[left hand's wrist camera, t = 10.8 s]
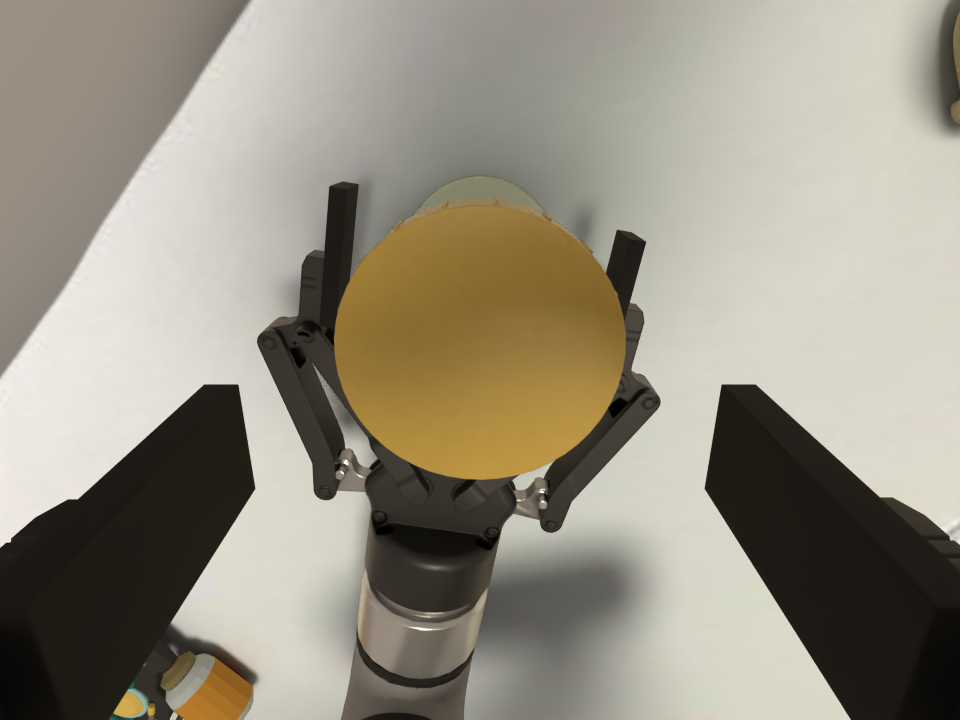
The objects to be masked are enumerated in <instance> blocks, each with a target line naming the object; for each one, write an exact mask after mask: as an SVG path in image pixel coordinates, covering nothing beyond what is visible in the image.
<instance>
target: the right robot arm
mask: <svg viewBox="0 0 960 720" xmlns="http://www.w3.org/2000/svg"><path fill="white" fill-rule="evenodd" d="M358 185H359V184H354V183H348V182H340V183H337V184H334V185H332V186H329V199H328V212H327V226H326V239H325V252H324V251H318V250H314V251H313V252H311V253H310V254H308V255H307V256H306V258H305V260H304V262H303V264H302V272H301V289H300V305H299V315H298V316H295V317H290V318H288V317H279V318H277V319H276V320H275V321H274V322H273V323H272V324H270V325H269V326H268V327H267V328H266V329H265V330H264V331H263V332H262V333H261V334H260V335H259V336H258V339H257V344H258V347H259V349H260V351H261V353H262V356H263V358H264V360H265V362H266V364H267V366H268V369H269V371H270V373H271V375H272V377H273V379H274V382H275V384H276V386H277V388H278V390H279V392H280V394H281V397H282V399H283V401H284V403H285V405H286V407H287V410H288V412H289V414H290V416H291V418H292V420H293V423H294V425H295V427H296V429H297V431H298V433H299V435H300V438H301V440H302V442H303V444H304V446H305V448H306V451H307V453H308V455H309V457H310V459H311V461H312V465H313V484H314V493H315V495H316V496H317V497H318V498H320V499H322V500H330V499H332V498H334V496H335V495H336V492H337V491H358V492H366V495H367V496H368V498H369V501H370V504H371V515H370V523H369V531H368V539H367V547H366V555H365V570H364V573H363V578H362V587H361V595H360V604H359V613H358V624H357V637H356V644H355V650H354V656H353V662H352V669H351V675H350V681H349V687H348V691H347V696H346V700H345V705H344V709H343V713H342V717H341V720H464V702H465V694H466V687H467V682H468V676H469V671H470V665H471V660H472V655H473V652H474V648H475V644H476V641H477V638H478V633H479V629H480V625H481V620H482V616H483V611H484V607H485V603H486V598H487V591H488V585H489V583H490V579H491V575H492V570H493V566H494V561H495V557H496V552H497V548H498V543H499V539H500V535H501V530H502V527H503V525H504V523H505V522H506V520H507V519H508V518H509V517H510V516H511V515H512V514H517V515H521V516H525V517H529V518H533V519H538V520H540V525H541V528H542V529H543V530H544V531H546V532H549V533H553V532H556V531H558V530H559V529H560V528H561V526H562V524H563V522H564V519H565V517H566V514H567V512H568V509H569V507H570V504H571V502H572V501H573V500H574V499H575V498H576V496H577V495H578V494H579V493H580V492H581V491H582V490H583V489H584V488H585V487H586V486H587V485H588V484H589V482H590V481H591V480H592V479H593V478H594V477H595V476H596V475H597V474H598V473H599V472H600V471H601V470H602V468H603V467H604V466H605V465H606V464H607V463H608V462H609V461H610V460H611V459H612V458H613V457H614V456H615V454H616V453H617V452H618V451H619V450H620V449H621V448H622V447H623V446H624V445H625V444H626V443H627V442H628V440H629V439H630V438H631V437H632V436H633V435H634V434H635V433H636V432H637V431H638V430H639V429H640V428H641V426H642V425H643V424H644V423H645V422H646V421H647V420H648V419H649V418H650V417H651V416H652V415H653V414H654V412H655V411H656V410H657V409H658V408H659V406H660V402H661V401H660V398H659V396H658V395H657V393H656V392H655V390H654V389H653V387H652V386H651V384H650V383H649V381H648V380H647V378H646V377H645V376H644V375H641V374H636V373H634V372H633V371H631V368H632V364H633V360H634V357H635V353H636V350H637V346H638V343H639V342H638V341H639V339H640V336H641V332H642V329H643V325H644V316H643V311H642V310H641V309H640V308H639V307H638V306H637V305H636V304H632V303H630V299H631V296H632V292H633V288H634V285H635V281H636V277H637V274H638V270H639V266H640V263H641V259H642V255H643V252H644V248H645V244H646V241H644V240H643V239H641V238H640V237H638V236H637V235H635V234H633V233H632V232H627V231H621V230H617V232H616V236H615V240H614V244H613V248H612V252H611V255H610V259H609V263H608V267H607V271H606V275H607V276H608V278H609V280H610V281H611V283H612V286H613V288H614V290H615V291H616V292H617V294H618V296H617V297H618V300H619V303H620V307H621V310H622V314H623V318H624V326H625V334H626V349H625V359H624V366H623V372H622V375H621V378H620V382H619V385H618V388H617V390H616V393H615V395H614V397H613V399H612V402H611V404H610V405H609V407H608V409H607V410H606V412H605V413H604V415H603V417H602V418H601V420H600V421H599V422H598V423H597V425H596V426H595V427H594V428H593V430H592V431H591V432H590V433H589V434H588V435H587V436H586V437H585V438H584V439H583V440H582V441H581V442H580V443H579V444H578V445H576V446H575V447H574V448H572V449H571V450H570V451H568V452H567V453H566V454H564V455H563V456H561V457H559V458H557V459H556V460H555V461H554V462H553V464H552V465H551V466H550V468H549V469H548V471H547V472H546V474H545V477H544V479H543V478H541V477H538V478H536V479H535V480H534V482H533V483H532V484H531V485H530V486H529V487H528V488H527V489H525V490H521V491H520V490H516V488H515V485H514V483H513V481H512V480H513V479H514V478H516V477H517V476H518V475H516V476H510V477H505V478H499V479H485V480H477V479H462V478H455V477H449V476H445V475H441V474H437V473H434V472H430V471H428V470H425V469H423V468H420V467H418V466H415V465H413V464H412V463H410V462H408V461H406V460H404V459H402V458H401V457H399V456H397V455H396V454H395V453H393V452H392V451H390V450H389V449H388V448H386V447H385V446H384V445H383V444H382V443H380V442H379V441H378V440H377V439H376V438H375V437H374V436H373V435H372V434H371V433H370V432H369V431H368V429H367V428H366V427H365V426H364V425H363V424H362V422H361V421H360V420H359V418H358V417H357V415H356V413H355V412H354V410H353V409H352V407H351V405H350V403H349V401H348V399H347V397H346V395H345V393H344V391H343V388H342V385H341V382H340V379H339V376H338V371H337V366H336V360H335V347H334V335H335V325H336V318H337V314H338V308H339V306H340V302H341V300H342V297H343V295H344V292H345V290H346V288H347V285H348V283H349V282H350V272H351V261H352V250H353V240H354V229H355V218H356V207H357V196H358ZM312 363H313V364H314V365H315V367H316V368H317V370H318V371H319V372H320V374H321V375H322V376H323V378H324V379H325V380H326V382H327V383H328V384H329V386H330V387H331V388H332V390H333V391H334V392H335V394H336V395H337V397H338V398H339V399H340V401H341V402H342V403H343V405H344V406H345V407H346V409H347V410H348V411H349V413H350V414H351V415H352V417H353V418H354V419H355V421H356V422H357V424H358V425H359V426H360V428H361V429H362V430H363V432H364V433H365V434H366V436H367V437H368V439H369V442H370V446H371V449H372V451H373V452H374V454H375V455H376V456H377V458H378V459H377V460H376V461H375V462H374V463H373V464H372V465H371V466H370V468H366V467H363V466H361V465H360V464H359V463H358V461H357V458H356V456H355V454H354V452H353V450H352V449H349V448H348V449H345V442H344V438H343V434H342V431H341V428H340V426H339V424H338V421H337V419H336V417H335V415H334V412H333V410H332V408H331V405H330V403H329V401H328V398H327V396H326V394H325V391H324V389H323V387H322V384H321V382H320V380H319V378H318V375H317V373H316V371H315V368H314V366H313V364H312ZM519 475H520V474H519Z"/></svg>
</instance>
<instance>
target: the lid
mask: <svg viewBox="0 0 960 720" xmlns="http://www.w3.org/2000/svg"><path fill="white" fill-rule="evenodd" d="M592 253H593V251H592V250H591V249H590V248H589V247H588V246H587V245H586V244H585V243H584V242H583V241H582V242H580V241H579V240H578V239H577V238H576V237H575V236H574V235H572V234H571V233H570V232H569V231H568V230H567V229H566V228H565V227H564V226H562V225H561V224H559V223H558V222H556V221H555V220H553V219H552V218H551V217H550V216H549V215H548V214H547V213H546V212H545V211H544V212H543V213H541V212H539V211H537V210H535V209H533V208H530V207H527V206H524V205H521V204H518V203H515V202H509V201H504V200H499V197H495V199H486V198H473V199H461V200H455V201H451V202H448V200H445V201H444V203H442V204H439V205H436V206H433V207H431V208H428V209H425V210H423V211H421V212H419V213H417V214H415V215H414V216H412V217H410V218H408V219H406V220H405V221H404V222H403V220H400V221H399V222H398V223H397V224H396V226H395V227H394V228H393V230H392V231H391V232H390V233H389V234H387V235H386V236H385V237H384V238H383V239H382V240H381V241H380V242H379V243H378V244H377V245H376V247H375V248H374V249H373V250H372V251H371V252H370V253H369V254H366V256H365V257H364V258H363V259H362V260H361V261H360V262H359V263H358V264H357V266H358V268H357V270H356V271H355V273H354V275H353V277H352V278H351V280H350V282H349V283H348V285H347V288H346V290H345V292H344V295H343V297H342V300H341V302H340V306H339V308H338V314H337V318H336V325H335V335H334V347H335V360H336V366H337V371H338V376H339V379H340V382H341V385H342V388H343V391H344V393H345V395H346V397H347V399H348V401H349V403H350V405H351V407H352V409H353V410H354V412H355V413H356V415H357V417H358V418H359V420H360V421H361V422H362V424H363V425H364V426H365V427H366V428H367V429H368V431H369V432H370V433H371V434H372V435H373V436H374V437H375V438H376V439H377V440H378V441H379V442H380V443H382V444H383V445H384V446H385V447H386V448H388V449H389V450H390V451H392V452H393V453H395V454H396V455H397V456H399V457H401V458H402V459H404V460H406V461H408V462H410V463H412V464H413V465H415V466H418V467H420V468H423V469H425V470H428V471H430V472H434V473H437V474H441V475H445V476H449V477H455V478H462V479H477V480H485V479H499V478H505V477H510V476H516V475H519V474H523V473H526V472H529V471H532V470H535V469H537V468H540V467H542V466H544V465H546V464H549V463H551V462H552V461H554V460H556V459H557V458H559V457H561V456H563V455H564V454H566V453H567V452H568V451H570V450H571V449H572V448H574V447H575V446H576V445H578V444H579V443H580V442H581V441H582V440H583V439H584V438H585V437H586V436H587V435H588V434H589V433H590V432H591V431H592V430H593V428H594V427H595V426H596V425H597V423H598V422H599V421H600V420H601V418H602V417H603V415H604V413H605V412H606V410H607V409H608V407H609V405H610V404H611V402H612V399H613V397H614V395H615V393H616V390H617V388H618V385H619V382H620V378H621V375H622V372H623V366H624V359H625V349H626V334H625V326H624V318H623V314H622V310H621V307H620V303H619V300H618V297H617V296H618V294H617V292H616V291H615V290H614V288H613V286H612V283H611V281H610V280H609V278H608V276H607V275H606V273H605V272H604V270H603V268H602V267H601V265H600V264H599V263H598V262H597V261H596V259H595V258H594V257H593V256H592V255H591V254H592Z"/></svg>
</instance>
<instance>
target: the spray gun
mask: <svg viewBox="0 0 960 720" xmlns="http://www.w3.org/2000/svg"><path fill="white" fill-rule="evenodd" d="M252 703H253V686H252V685H251V684H249V683H248V682H247V681H245V680H244V679H243V678H242V677H240V676H239V675H238V674H236V673H235V672H234V671H232V670H231V669H230V668H228V667H227V666H226V665H224V664H223V663H222V662H221V661H219V660H218V659H217V658H215V657H213V656H211V655H208V654H205V653H203V654H199V655H194V654H193V653H192V652H190V651H188V652H186V653H184V654H182V655H180V656H176V655H175V653H174V652H173V651H172V650H171V649H169V648H168V647H167V646H166V645H165V644H164V643H163V642H162V641H160V640H159V642H158V643H157V645H156V646H155V648H154V649H153V651H152V653H151V654H150V656H149V657H148V659H147V661H146V662H145V664H144V665H143V667H142V668H141V670H140V672H139V673H138V675H137V676H136V678H135V679H134V681H133V683H132V684H131V686H130V687H129V689H128V690H127V692H126V694H125V695H124V697H123V698H122V700H121V702H120V703H119V705H118V706H117V708H116V709H115V711H114V713H113V714H112V716H111V717H110V719H109V720H155V719H156V720H170V717H171V715H172V713H173V711H175V712H176V713H177V714H179V715H178V717H177V719H176V720H183V718H184V719H185V720H243V719H244V718H245V716H246V715H247V713H248V712H249V710H250V709H251V706H252Z"/></svg>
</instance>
